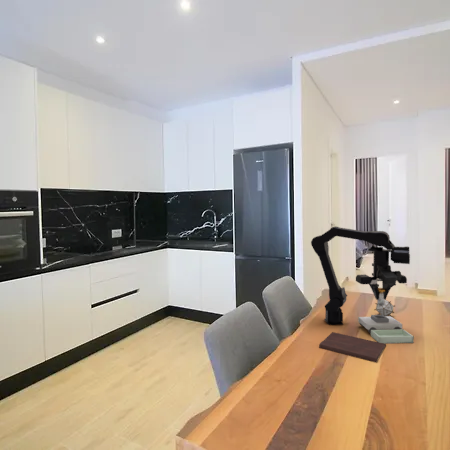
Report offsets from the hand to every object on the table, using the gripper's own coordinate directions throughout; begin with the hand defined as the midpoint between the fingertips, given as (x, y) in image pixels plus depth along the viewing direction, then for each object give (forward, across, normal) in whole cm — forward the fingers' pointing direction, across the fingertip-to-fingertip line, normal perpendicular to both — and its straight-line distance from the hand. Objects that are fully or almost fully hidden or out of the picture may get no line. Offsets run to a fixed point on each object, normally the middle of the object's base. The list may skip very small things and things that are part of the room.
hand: (380, 299), depth 134 cm
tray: (+13, 0, -9) cm, 16 cm away
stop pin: (+2, 0, 0) cm, 2 cm away
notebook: (+14, -18, -15) cm, 27 cm away
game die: (+13, +10, +16) cm, 23 cm away
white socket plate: (+13, 0, 0) cm, 13 cm away
